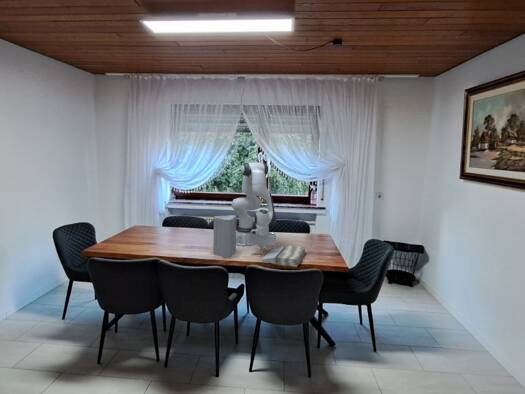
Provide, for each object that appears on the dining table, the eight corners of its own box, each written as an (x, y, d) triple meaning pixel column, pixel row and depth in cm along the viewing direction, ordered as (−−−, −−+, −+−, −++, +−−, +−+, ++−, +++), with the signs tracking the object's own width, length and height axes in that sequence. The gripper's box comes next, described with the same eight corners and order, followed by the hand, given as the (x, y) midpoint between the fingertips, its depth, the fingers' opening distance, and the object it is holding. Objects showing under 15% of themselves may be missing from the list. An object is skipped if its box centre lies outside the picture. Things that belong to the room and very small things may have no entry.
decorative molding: (262, 266, 256) (276, 264, 253) (261, 259, 255) (274, 257, 252) (274, 254, 288) (286, 251, 285) (272, 248, 288) (285, 245, 285)
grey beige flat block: (276, 264, 251) (276, 257, 250) (286, 251, 285) (286, 245, 285) (297, 266, 247) (297, 259, 247) (304, 253, 282) (305, 246, 281)
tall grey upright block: (217, 250, 284) (217, 214, 281) (235, 251, 282) (236, 215, 278) (209, 256, 265) (210, 218, 262) (229, 258, 263) (230, 220, 260)
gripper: (277, 232, 270) (276, 250, 272) (251, 229, 276) (250, 247, 278) (275, 234, 264) (274, 252, 266) (248, 231, 270) (247, 249, 272)
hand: (261, 249), depth 272 cm, fingers closed
